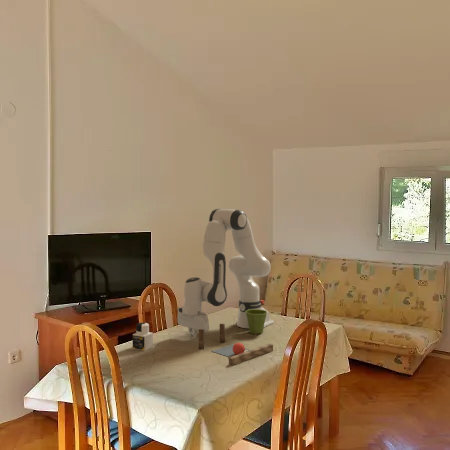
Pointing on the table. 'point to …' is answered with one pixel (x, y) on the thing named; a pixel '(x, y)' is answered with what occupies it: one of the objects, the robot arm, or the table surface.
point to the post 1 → (201, 339)
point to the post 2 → (222, 333)
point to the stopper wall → (250, 354)
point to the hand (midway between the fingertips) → (193, 336)
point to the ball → (238, 348)
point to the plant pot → (256, 320)
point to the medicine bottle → (142, 337)
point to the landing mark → (226, 351)
